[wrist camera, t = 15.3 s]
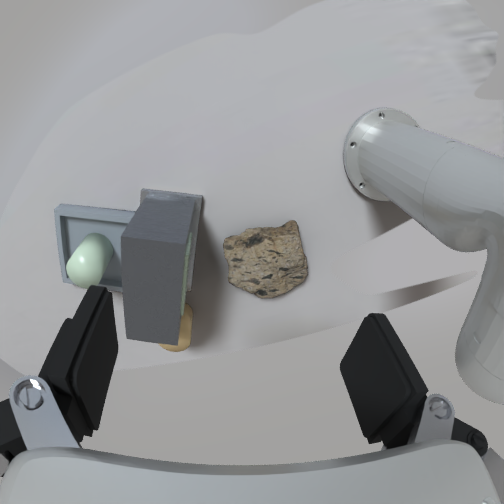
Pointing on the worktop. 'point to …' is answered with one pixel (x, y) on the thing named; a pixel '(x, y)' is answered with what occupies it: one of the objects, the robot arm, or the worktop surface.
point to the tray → (83, 223)
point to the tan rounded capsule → (182, 332)
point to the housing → (158, 264)
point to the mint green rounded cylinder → (90, 260)
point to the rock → (266, 260)
